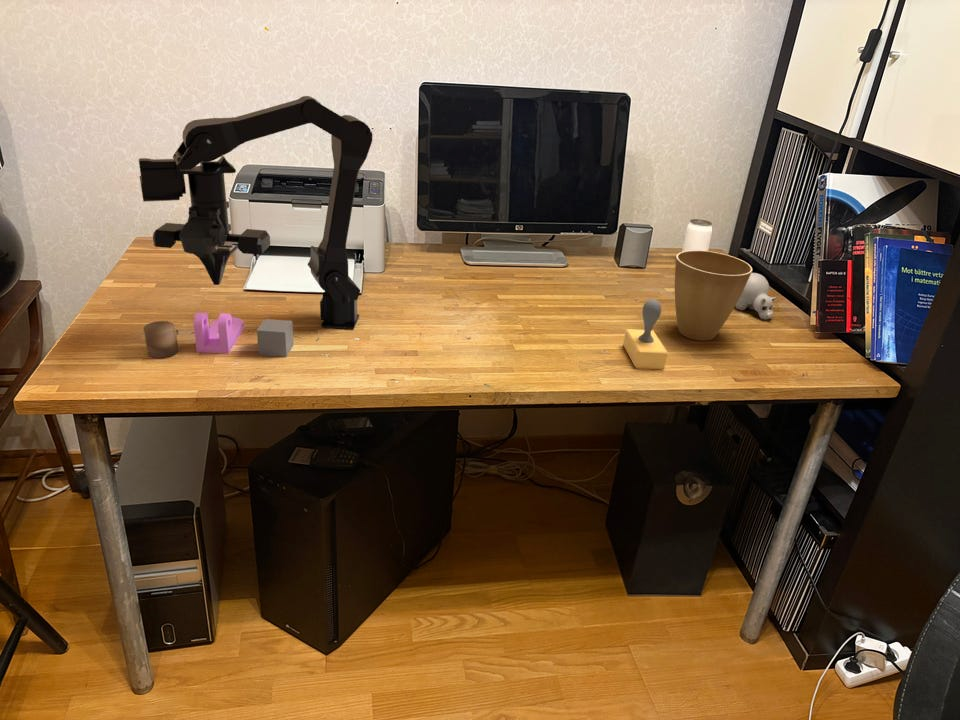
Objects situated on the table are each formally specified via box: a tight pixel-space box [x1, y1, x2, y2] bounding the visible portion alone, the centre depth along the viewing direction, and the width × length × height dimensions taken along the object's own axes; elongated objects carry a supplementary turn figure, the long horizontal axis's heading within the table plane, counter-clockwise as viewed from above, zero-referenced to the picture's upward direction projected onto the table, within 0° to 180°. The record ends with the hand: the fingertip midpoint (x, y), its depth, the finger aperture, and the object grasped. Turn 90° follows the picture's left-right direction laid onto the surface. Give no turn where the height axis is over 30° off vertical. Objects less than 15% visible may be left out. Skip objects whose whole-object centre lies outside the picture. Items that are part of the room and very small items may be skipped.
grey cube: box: [256, 318, 294, 358], centre depth 128 cm, size 5×5×5 cm
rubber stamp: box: [622, 298, 668, 370], centre depth 134 cm, size 10×6×12 cm, turn 3°
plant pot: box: [674, 250, 753, 342], centre depth 145 cm, size 15×15×16 cm
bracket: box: [193, 311, 244, 354], centre depth 130 cm, size 13×6×7 cm, turn 3°
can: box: [681, 218, 713, 252], centre depth 186 cm, size 6×6×12 cm
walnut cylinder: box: [143, 320, 179, 360], centre depth 124 cm, size 5×5×5 cm
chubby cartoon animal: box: [734, 272, 777, 321], centre depth 160 cm, size 7×12×8 cm, turn 18°
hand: (217, 284), depth 127 cm, fingers closed
